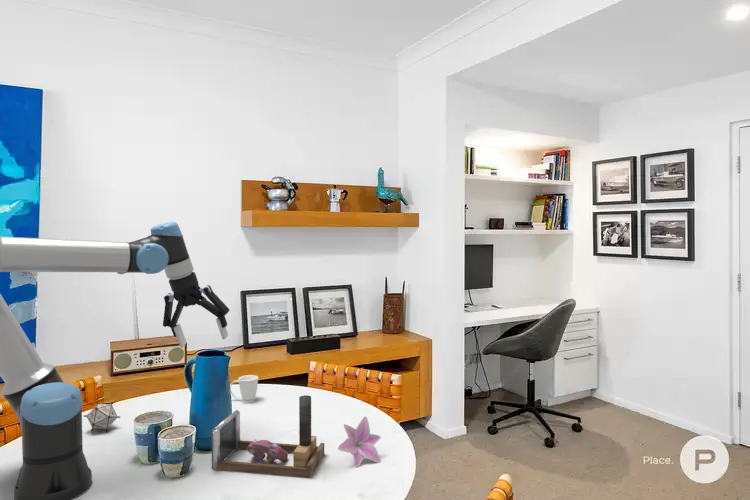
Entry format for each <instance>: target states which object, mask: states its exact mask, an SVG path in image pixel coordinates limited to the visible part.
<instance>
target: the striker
mask: <svg viewBox="0 0 750 500" xmlns="http://www.w3.org/2000/svg"><path fill="white" fill-rule="evenodd" d="M298 400H299V401H298V402H299V403H298V404H299V406H298V409H299V411H298V412H299V423H298V425H299V427H298V429H299V431H298V434H299V444H297V445H298V446H297V448H296V449H295V450H294V452H293V453H292V454H293V459H292V461H293V462H292V464H293V465H292V466H295V467H306V465H307V464H308V462H309V461H310V459H311V457H312V456H313V454H314V453H315V451H316V450H317V446H318V445H317V435H312V396H311V395H308V394H307V395H304V394H303V395H301V396H299V398H298Z"/></svg>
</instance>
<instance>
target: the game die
mask: <svg viewBox="0 0 750 500" xmlns="http://www.w3.org/2000/svg"><path fill="white" fill-rule="evenodd" d="M113 404H114V401H112V402H111V403H110V404H109V403H99V401H96V405H95V406H94V407H93V408H92V410H91V411H89V413H87V415H83V417H84V418H87V420H88V422H89V424H90V426H91V429H90V431H91V432H92V431H94V430H105V431H106V432H107V433H108V432H109V430H108V429H109V428H110V427H111V426H112V424H113V423H114V422H115V421H116V420H117V419H120V418H121V416H120V415H119V416H118V414H117V413H116V410H115V409H114V407H113Z"/></svg>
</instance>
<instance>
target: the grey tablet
mask: <svg viewBox="0 0 750 500" xmlns="http://www.w3.org/2000/svg"><path fill="white" fill-rule="evenodd" d="M210 438H211V469H213V471H219V470H218V462H219V461H220V460H223V461H225V460H226V459H227V458H228V457H229V456H230V455H231V454H232V453H233V452H234V451H235V450H240V449H239V441H240V440H241V412H240V411H239V410H238V409H236V410H234V411H233V412H232V413H230V415H228V416H227V417H226V418H224V419H223V420H222V421H221V422H220V423H218V425H216V426H215V427H214V428H213V429H212V432H211V437H210ZM233 450H234V451H233ZM232 451H233V452H232ZM231 452H232V453H231ZM230 453H231V454H230ZM229 454H230V455H229ZM228 455H229V456H228ZM226 457H227V458H226ZM225 458H226V459H225ZM224 459H225V460H224Z"/></svg>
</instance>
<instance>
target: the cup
mask: <svg viewBox="0 0 750 500" xmlns="http://www.w3.org/2000/svg"><path fill="white" fill-rule="evenodd" d="M233 383H238V384H239V390H240V394H241V398H239V397H237V396H236V395H235V394H234V393H233V391H232V390H231V393H230V395H231V394H232V395H231V396H232V397H233V398H235V399H236V400H238V401H240V402H242V403H246V404H248V403H254V402H255V399H256V395H257V391H258V383H259V376H258V375H256V374H255V375H253V374H248V375H247V374H246V375H242V376H239V377H238V379H235V380H232V381H231V383H230V385H231V387H232V386H233Z"/></svg>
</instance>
